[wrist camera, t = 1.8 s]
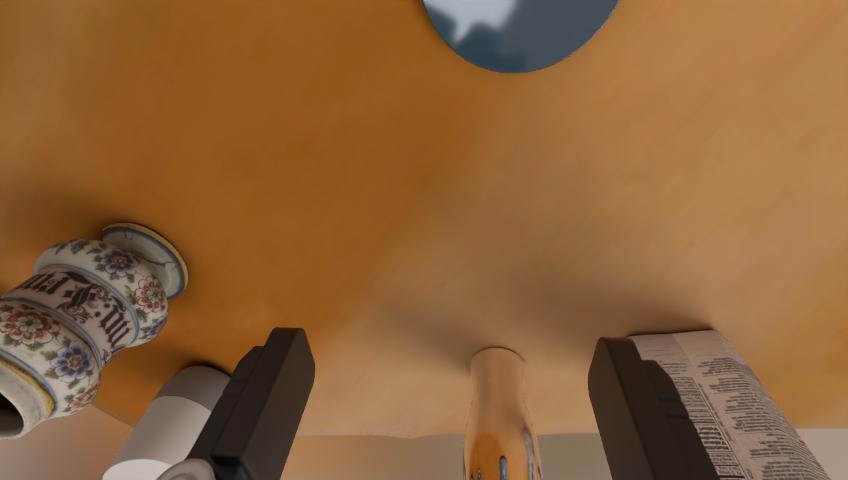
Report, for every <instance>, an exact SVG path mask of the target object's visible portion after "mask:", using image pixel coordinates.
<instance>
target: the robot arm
mask: <svg viewBox="0 0 848 480" xmlns="http://www.w3.org/2000/svg"><path fill="white" fill-rule="evenodd" d="M314 378H315V363H314V359H313V356H312V353H311V349H310V346H309V343H308V340H307V336H306V333H305V331H304V329H303V328H280V327H276V328H274V329H273V330H272V332H271V333H270V335H269V337H268V339H267V341H266V343H265V345H264V346H255V347H254V348H253V349H252V350H250V351H249V352H248V353H247V354H246V355H245V356H244V357H243V358H242V359H241V360H240V361H239V363H238V365H237V367H236V368H235V370H234V372H233V374H232V376H231V378H230V382H228V383H227V385H226V387H225V389H224V390H223V392H222V396H220V398H219V400H218V401H217V403H216V405H215V407H214V409H213V410H212V412H211V414H210V416H209V418H208V420H207V421H206V423H205V425H204V427H203V429H202V431H201V432H200V434H199V436H198V438H197V440H196V442H195V443H194V445H193V447H192V449H191V451H190V452H189V454H188V455H187V457H186V458H185V459H184V460H183V461H181V462H179V463H176V464H175V465H173V466H171V467H170V468H168V469H167V470H166V471H164V472H163V473H162V474H161V475H160V476H159V477H158V478H157V479H156V480H280V477H281V474H282V471H283V469H284V466H285V463H286V460H287V457H288V455H289V452H290V449H291V446H292V443H293V440H294V437H295V435H296V432H297V429H298V426H299V423H300V420H301V417H302V414H303V412H304V409H305V406H306V403H307V400H308V397H309V394H310V392H311V389H312V386H313V382H314ZM588 390H589V396H590V400H591V404H592V407H593V411H594V414H595V418H596V422H597V425H598V429H599V432H600V436H601V439H602V443H603V446H604V450H605V454H606V457H607V461H608V464H609V468H610V472H611V475H612V479H613V480H720V478H719V476H718V474H717V471H716V469H715V467H714V465H713V463H712V461H711V459H710V457H709V455H708V453H707V451H706V449H705V447H704V444H703V442H702V440H701V438H700V436H699V434H698V432H697V430H696V428H695V426H694V424H693V422H692V420H691V419H690V418H689V413H688V411H687V409H686V407H685V405H684V403H683V402H681V397H680V395H679V393H678V390H677V388H676V386H675V384H674V382H673V380H672V378H671V377H670V376H669V375H668V374H667V373H666V372H665V371H664V370H663V369H662V368H661V366H660V365H659V364H658V363H657V362H656V361H655V360H642V359H641V356H640V354H639V352H638V350H637V347H636V345H635V343H634V341H633V340H632V339H630V338H604V337H601V338H599V339H598V342H597V345H596V349H595V352H594V356H593V359H592V363H591V366H590V370H589V374H588Z"/></svg>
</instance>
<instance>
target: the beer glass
mask: <svg viewBox="0 0 848 480" xmlns="http://www.w3.org/2000/svg"><path fill="white" fill-rule="evenodd" d="M469 368H470V375H471V379H472V385H473V396H472V402H471V407H470V412H469V416H468V421H467V425H466V431H465V438H464V447H463V480H543V475H542V465H541V457H540V451H539V445H538V441H537V437H536V433H535V429H534V426H533V423H532V420H531V417H530V414H529V411H528V408H527V405H526V401H525V398H524V393H523V379H524V363H523V361H522V359H521V358H520V357H519V356H518V355H517V354H516V353H514V352H512V351H510V350H508V349H504V348H488V349H484V350H482V351H480V352H478V353H477V354H475V355H474V356H473V358H472V359H471V361H470V366H469Z"/></svg>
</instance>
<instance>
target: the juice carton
mask: <svg viewBox="0 0 848 480" xmlns="http://www.w3.org/2000/svg"><path fill="white" fill-rule="evenodd" d="M627 338H630V339H632V340H633V341H634V343H635V345H636V347H637V350H638V352H639V354H640V356H641V359H642V360H655V361H656V362H657V363H658V364H659V365H660V366H661V368H662V369H663V370H664V371H665V372H666V373H667V374H668V375H669V376H670V377H671V378H672V380H673V382H674V384H675V386H676V388H677V390H678V393H679V395H680V397H681V402H683V403H684V405H685V407H686V409H687V411H688V413H689V418H690V419H691V420H692V422H693V424H694V426H695V428H696V430H697V432H698V434H699V436H700V438H701V440H702V442H703V444H704V447H705V449H706V451H707V453H708V455H709V457H710V459H711V461H712V463H713V465H714V467H715V469H716V471H717V474H718V476H719V478H720V480H831V479H830V478H829V477H828V475H827V474H826V472H825V471H824V469H823V468H822V467H821V465H820V464H819V463H818V461H817V460H816V458H815V457H814V456H813V454H812V453H811V451H810V450H809V449H808V447H807V446H806V444H805V443H804V442H803V440H802V439H801V437H800V436H799V435H798V433H797V432H796V430H795V429H794V428H793V426H792V425H791V423H790V422H789V421H788V419H787V418H786V416H785V415H784V414H783V412H782V411H781V410H780V408H779V407H778V405H777V404H776V403H775V401H774V400H773V398H772V397H771V396H770V394H769V393H768V391H767V390H766V389H765V387H764V386H763V385H762V383H761V382H760V380H759V379H758V378H757V376H756V375H755V374H754V372H753V371H752V369H751V368H750V367H749V366H748V364H747V363H746V362H745V361H744V359H743V358H742V357H741V356H740V355H739V353H738V352H737V351H736V350H735V349H734V348H733V347H732V346H731V344H730V343H729V342H728V341H727V340H726V339H725V338H724V337H723V336H722V335H721V334H720V333H719V332H718V331H715V330H706V331H693V332H684V333H674V334H656V335H637V336H629V337H627Z"/></svg>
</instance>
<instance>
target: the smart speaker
mask: <svg viewBox="0 0 848 480" xmlns="http://www.w3.org/2000/svg"><path fill="white" fill-rule="evenodd" d="M228 382H230V377H229V376H228V375H227V374H225V373H223V372H222V371H220V370H218V369H215V368H212V367H207V366H192V367H188V368H185V369H183V370H181V371H180V372H178V373H177V374H175V375H174V376H173V377H172V378H171V379H170V380H169V381H168V382H167V383H166V384H165V385H164V386H163V387H162V388H161V390H160V391H159V392H158V394H157V395H156V397H155V398H154V399H153V401H152V402H151V404H150V405H149V407H148V408H147V410H146V411H145V413H144V414H143V416H142V417H141V419H140V420H139V422H138V423H137V425H136V426H135V428H134V430H133V431H132V433H131V434H130V436H129V437H128V439H127V440H126V442H125V443H124V445H123V446H122V448H121V449H120V451H119V452H118V454H117V455H116V457H115V459H114V460H113V462H112V463H111V465H110V466H109V468H108V469H107V471H106V472H105V474H104V476H103V480H156V479H157V478H158V477H159V476H160V475H161V474H162V473H163V472H164V471H166V470H167V469H168V468H170V467H171V466H173V465H175V464H176V463H179V462H181V461H183V460H184V459H185V458H186V457H187V455H188V454H189V452H190V451H191V449H192V447H193V445H194V443H195V442H196V440H197V438H198V436H199V434H200V432H201V431H202V429H203V427H204V425H205V423H206V421H207V420H208V418H209V416H210V414H211V412H212V410H213V409H214V407H215V405H216V403H217V401H218V400H219V398H220V396H222V392H223V390H224V389H225V387H226V385H227V383H228Z"/></svg>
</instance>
